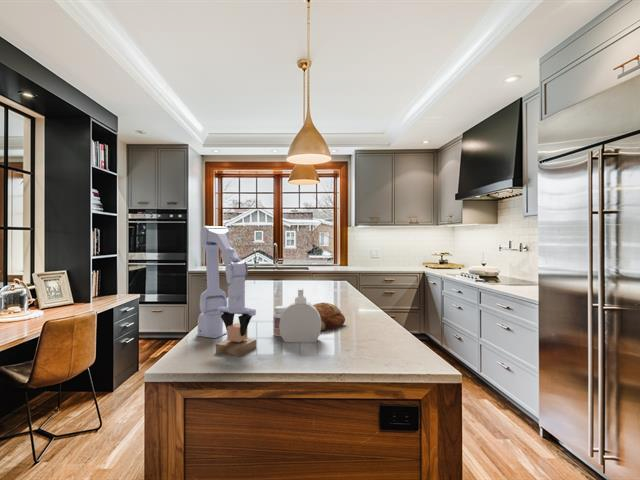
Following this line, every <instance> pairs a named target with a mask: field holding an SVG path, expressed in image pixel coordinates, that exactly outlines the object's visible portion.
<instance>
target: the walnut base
mask: <svg viewBox="0 0 640 480" xmlns="http://www.w3.org/2000/svg"><path fill="white" fill-rule="evenodd" d="M255 349H257V339H255V338H249V337H247V339H245V340H243V341H241V342H235V341H227V338H226V339H225V340H222V341H220V342H216V343H215V354H223V355H228V356H230V355H231V356H235V357H242V356H244V355H245V354H247V353H250V352H251V351H253V350H255Z"/></svg>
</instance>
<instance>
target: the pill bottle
mask: <svg viewBox="0 0 640 480" xmlns="http://www.w3.org/2000/svg"><path fill="white" fill-rule="evenodd" d="M286 307H287V306H286V305H278V306H277V305H276V306H274V312H275V313H273V335H274V336H275V337H282V336H281V334H280V329H279V323H280V318H281V315H282V314H283V312H284V310H285V309H286Z"/></svg>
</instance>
